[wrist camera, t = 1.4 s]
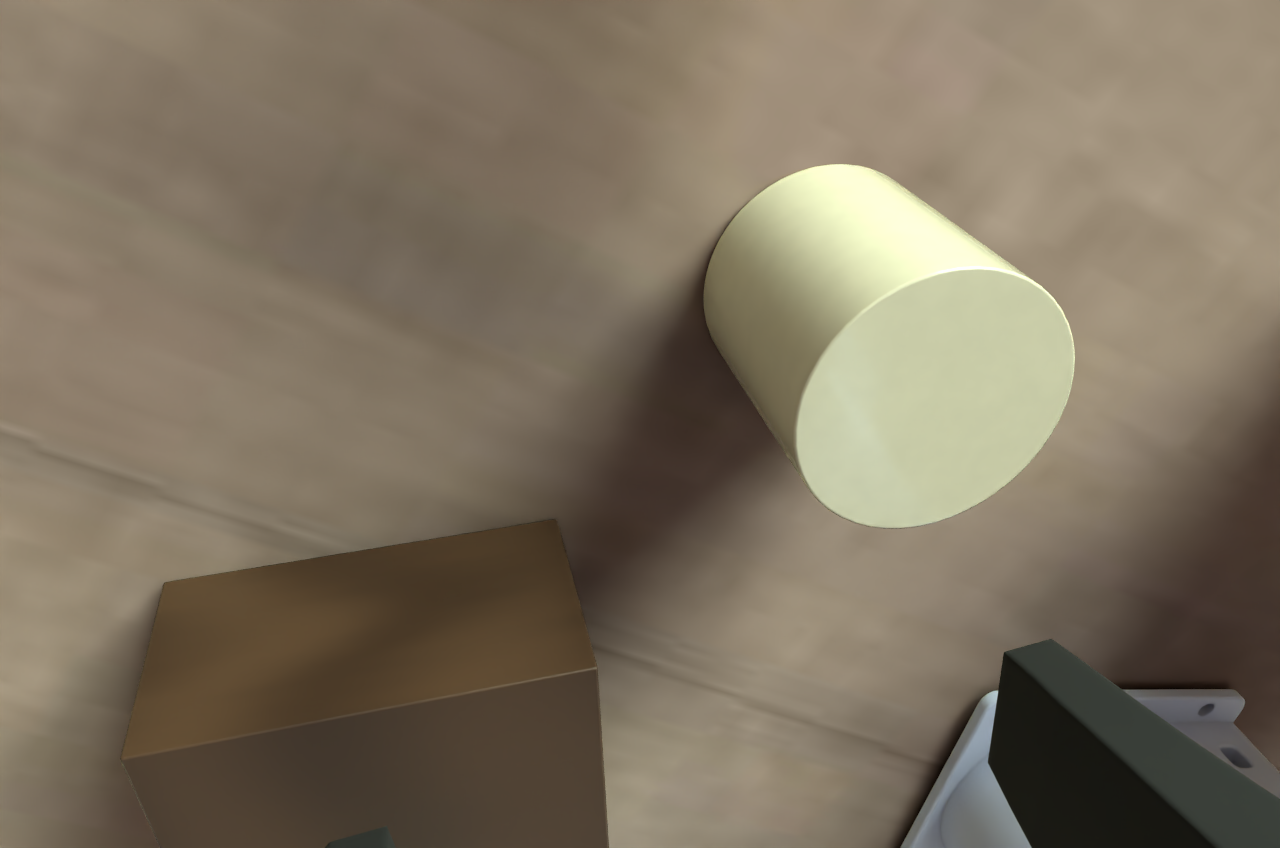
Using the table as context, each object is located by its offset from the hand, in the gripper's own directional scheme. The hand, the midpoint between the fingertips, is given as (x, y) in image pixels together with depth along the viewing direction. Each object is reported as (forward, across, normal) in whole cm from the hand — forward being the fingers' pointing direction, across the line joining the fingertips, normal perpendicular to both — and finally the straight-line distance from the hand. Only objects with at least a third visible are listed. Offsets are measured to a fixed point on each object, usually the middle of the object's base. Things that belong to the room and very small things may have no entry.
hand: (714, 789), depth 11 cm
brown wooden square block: (+10, +5, +7) cm, 13 cm away
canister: (+10, -5, -1) cm, 11 cm away
